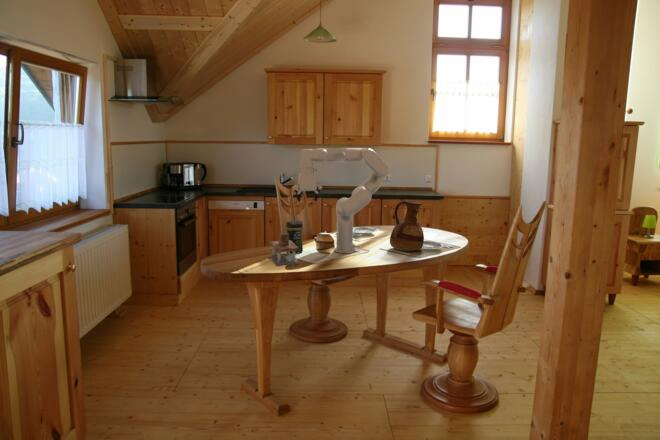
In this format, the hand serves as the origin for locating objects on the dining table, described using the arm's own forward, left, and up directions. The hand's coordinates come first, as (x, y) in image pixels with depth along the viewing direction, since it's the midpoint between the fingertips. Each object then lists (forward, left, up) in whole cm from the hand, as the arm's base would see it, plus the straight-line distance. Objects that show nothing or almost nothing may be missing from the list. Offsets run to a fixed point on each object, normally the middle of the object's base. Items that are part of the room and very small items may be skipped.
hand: (307, 200), depth 298 cm
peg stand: (+17, +15, -30) cm, 38 cm away
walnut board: (+17, +15, -23) cm, 32 cm away
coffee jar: (+7, -3, -31) cm, 31 cm away
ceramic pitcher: (-59, +8, -31) cm, 67 cm away
